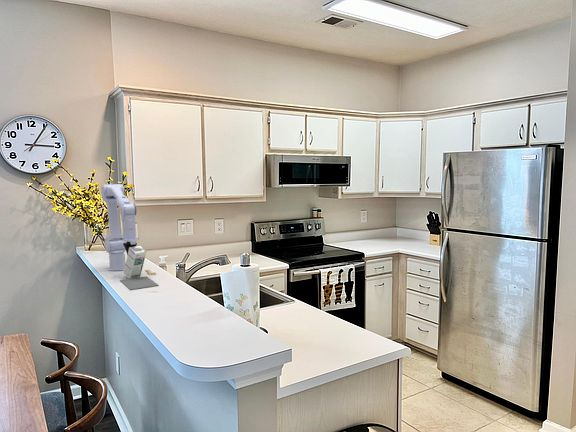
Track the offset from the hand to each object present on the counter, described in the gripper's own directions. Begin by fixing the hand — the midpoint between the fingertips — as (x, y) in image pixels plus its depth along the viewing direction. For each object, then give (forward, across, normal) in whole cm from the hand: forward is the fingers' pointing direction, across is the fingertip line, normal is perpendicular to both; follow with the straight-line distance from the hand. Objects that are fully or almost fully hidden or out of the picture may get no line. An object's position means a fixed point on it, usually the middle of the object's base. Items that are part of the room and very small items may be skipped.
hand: (130, 257), depth 197 cm
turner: (+10, +5, -10) cm, 14 cm away
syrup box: (+8, 0, 0) cm, 8 cm away
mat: (+10, -14, 0) cm, 17 cm away
